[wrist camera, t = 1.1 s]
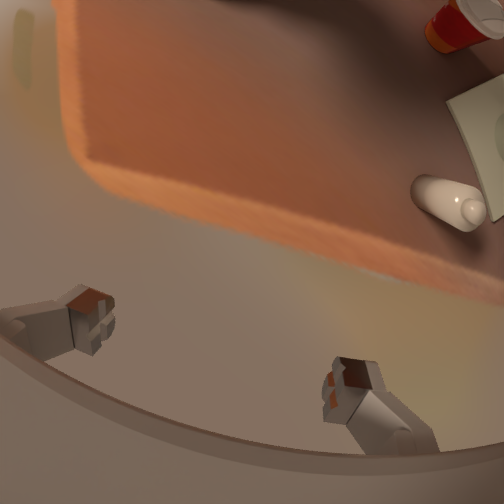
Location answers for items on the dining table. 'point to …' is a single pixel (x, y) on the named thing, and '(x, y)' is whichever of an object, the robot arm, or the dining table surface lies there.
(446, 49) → the paper cup
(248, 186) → the dining table surface
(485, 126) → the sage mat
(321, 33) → the dining table surface
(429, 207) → the cream bottle
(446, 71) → the dining table surface
